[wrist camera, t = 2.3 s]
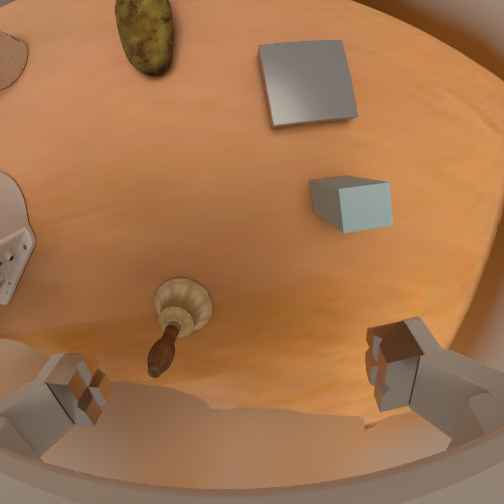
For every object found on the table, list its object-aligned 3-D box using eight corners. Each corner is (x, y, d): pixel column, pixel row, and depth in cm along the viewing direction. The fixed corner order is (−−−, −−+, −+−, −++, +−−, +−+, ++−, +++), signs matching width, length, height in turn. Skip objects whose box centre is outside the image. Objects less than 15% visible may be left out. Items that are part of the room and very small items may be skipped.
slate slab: (347, 120, 37) (358, 116, 33) (270, 129, 38) (273, 125, 34) (333, 50, 35) (341, 40, 31) (257, 56, 35) (258, 45, 31)
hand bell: (158, 330, 45) (125, 401, 29) (151, 276, 42) (108, 335, 27) (214, 331, 45) (202, 407, 29) (211, 277, 43) (195, 339, 27)
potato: (113, 79, 35) (87, 64, 27) (133, 0, 32) (115, -26, 24) (172, 80, 35) (156, 62, 28) (190, -2, 32) (181, -31, 24)
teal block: (350, 206, 40) (392, 225, 28) (313, 211, 40) (343, 233, 28) (346, 175, 39) (389, 182, 27) (309, 180, 39) (338, 188, 27)
